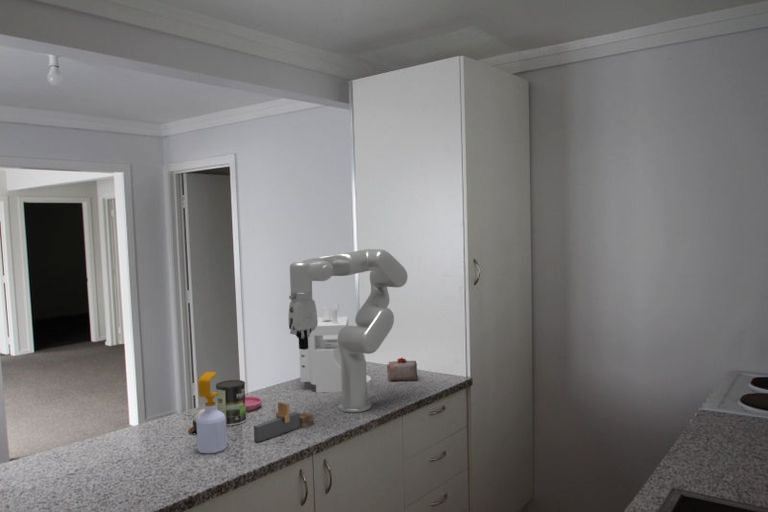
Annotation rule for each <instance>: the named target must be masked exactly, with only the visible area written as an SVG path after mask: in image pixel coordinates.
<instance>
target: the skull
mask: <svg viewBox="0 0 768 512" xmlns="http://www.w3.org/2000/svg"><path fill="white" fill-rule="evenodd" d="M204 411H205V408H203V409H200V410H199V411H197V413H195V415H194V417H193V419H192V427H191V428H189V429H188V432H187V433H188V435H194V433H195V435H197V434H196V433H197V425H196V420H197V417H198V416H199V415H200V414H201V413H203V412H204Z"/></svg>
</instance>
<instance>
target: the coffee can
mask: <svg viewBox="0 0 768 512" xmlns="http://www.w3.org/2000/svg"><path fill="white" fill-rule="evenodd" d="M245 387H246V382H245V381H244V380H241V379H230V380H224V381H220V382H217V383H216V384H215V388H216V390H215V391H216V392H217V393H218V395H216V409H217V410H218V411H221V412H222V413H224V415H225V417H226V427H231V426H232V425H233V426H238V424H239V425H241V423H242V424H244V423H245V422H247V412H246V403H245V397H246V388H245Z"/></svg>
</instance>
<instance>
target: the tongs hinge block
mask: <svg viewBox="0 0 768 512" xmlns="http://www.w3.org/2000/svg"><path fill="white" fill-rule="evenodd" d="M314 419H315V417H314V414H313V413H308V412H302V413H300V427H299V428H301V429H304V428H308V427H310V426H313V425H315V420H314Z"/></svg>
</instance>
